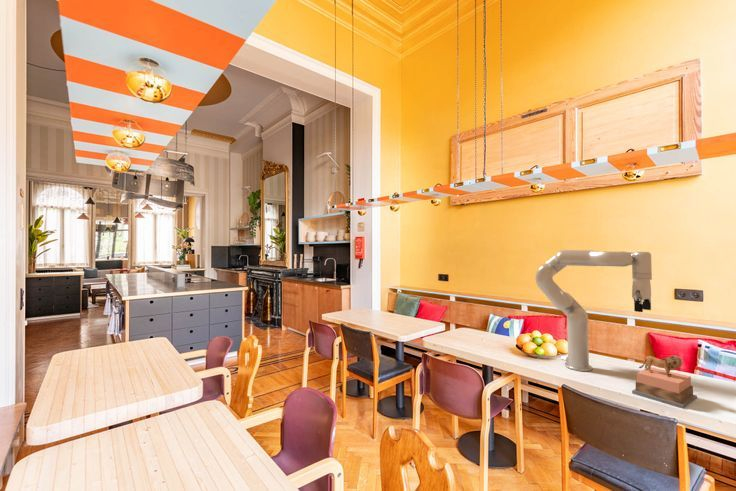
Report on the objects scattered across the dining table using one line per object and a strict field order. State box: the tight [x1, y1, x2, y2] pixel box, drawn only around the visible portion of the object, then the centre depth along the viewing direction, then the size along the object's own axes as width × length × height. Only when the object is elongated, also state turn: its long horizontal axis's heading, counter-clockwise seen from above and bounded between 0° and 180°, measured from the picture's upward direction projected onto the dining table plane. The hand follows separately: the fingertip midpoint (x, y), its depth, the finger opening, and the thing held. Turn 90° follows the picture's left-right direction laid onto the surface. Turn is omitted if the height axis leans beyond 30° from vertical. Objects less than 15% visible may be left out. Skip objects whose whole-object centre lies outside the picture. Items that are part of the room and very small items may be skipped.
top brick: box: [636, 366, 692, 393], centre depth 144 cm, size 14×14×4 cm
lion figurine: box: [638, 355, 683, 377], centre depth 146 cm, size 15×5×9 cm, turn 37°
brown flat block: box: [635, 381, 694, 404], centre depth 144 cm, size 15×15×4 cm
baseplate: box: [631, 388, 698, 409], centre depth 144 cm, size 17×17×1 cm
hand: (642, 310), depth 165 cm, fingers open, 9 cm apart
